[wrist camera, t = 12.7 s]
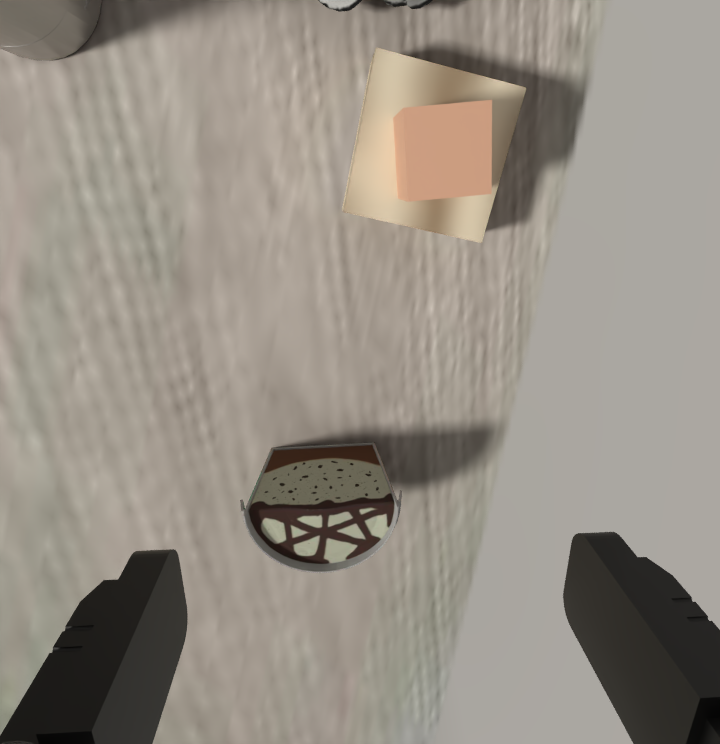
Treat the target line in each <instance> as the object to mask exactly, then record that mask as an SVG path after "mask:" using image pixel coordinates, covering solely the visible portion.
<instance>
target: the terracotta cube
mask: <svg viewBox="0 0 720 744" xmlns="http://www.w3.org/2000/svg"><path fill="white" fill-rule="evenodd" d="M393 124H394V141H395V159H396V176H397V194H398V199H401V200H404V201H407V202H411V201H421V200H432V199H443V198H453V197H464V196H475V195H485V194H492V100H484V101H473V102H462V103H451V104H440V105H428V106H417V107H406V108H403V109H402V110H401V111H400V112H399V113H397V114H396V115H395V116H394V117H393Z"/></svg>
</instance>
